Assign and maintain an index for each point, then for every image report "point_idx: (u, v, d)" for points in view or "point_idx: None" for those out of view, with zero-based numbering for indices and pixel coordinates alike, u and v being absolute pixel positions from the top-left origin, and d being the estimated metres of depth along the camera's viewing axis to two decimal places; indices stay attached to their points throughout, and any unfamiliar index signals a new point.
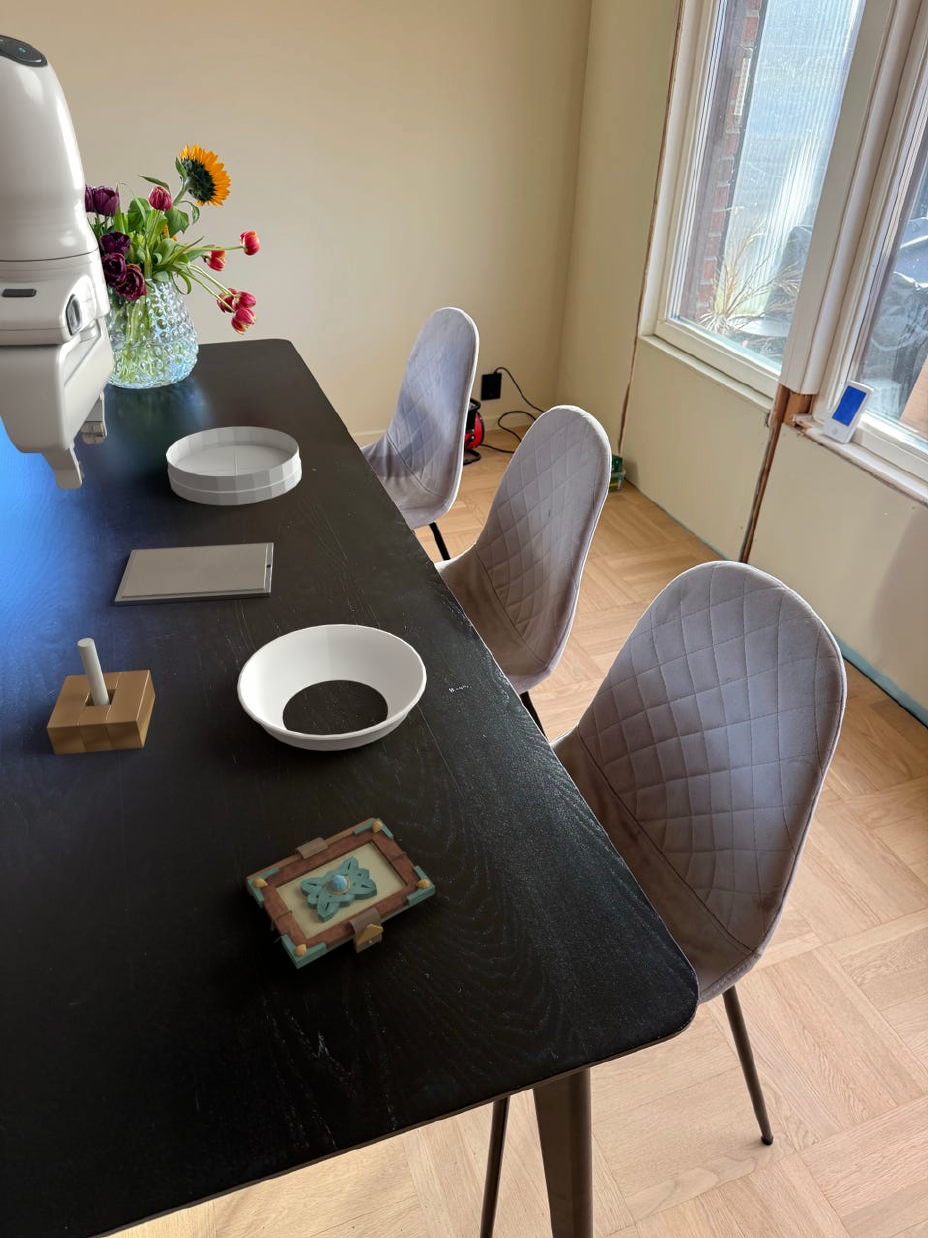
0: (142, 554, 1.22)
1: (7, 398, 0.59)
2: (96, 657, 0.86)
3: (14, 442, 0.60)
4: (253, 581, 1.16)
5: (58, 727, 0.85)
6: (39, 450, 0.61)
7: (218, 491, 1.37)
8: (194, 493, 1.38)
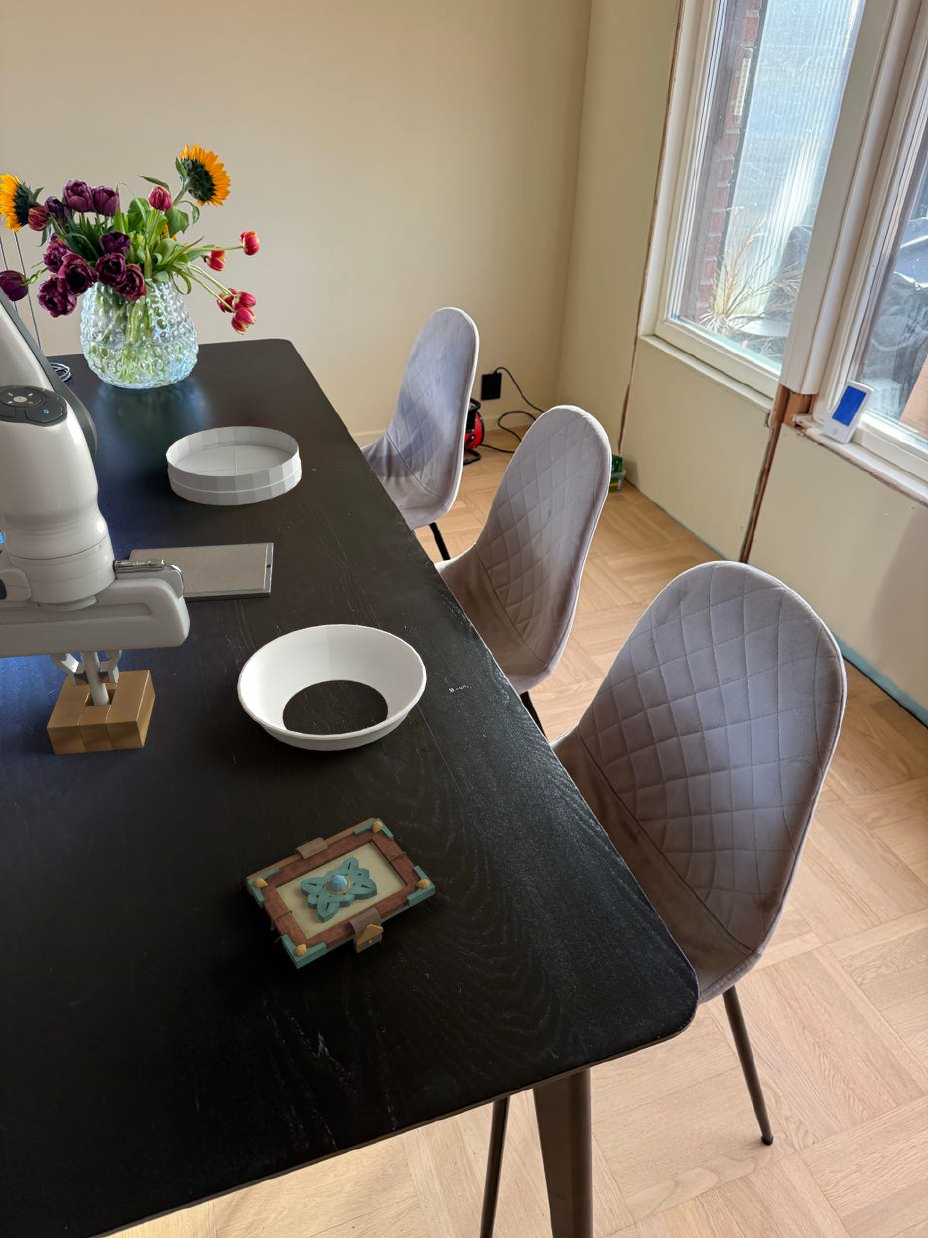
0: (142, 554, 1.22)
1: None
2: (96, 657, 0.86)
3: None
4: (253, 581, 1.16)
5: (58, 727, 0.85)
6: None
7: (218, 491, 1.37)
8: (194, 493, 1.38)
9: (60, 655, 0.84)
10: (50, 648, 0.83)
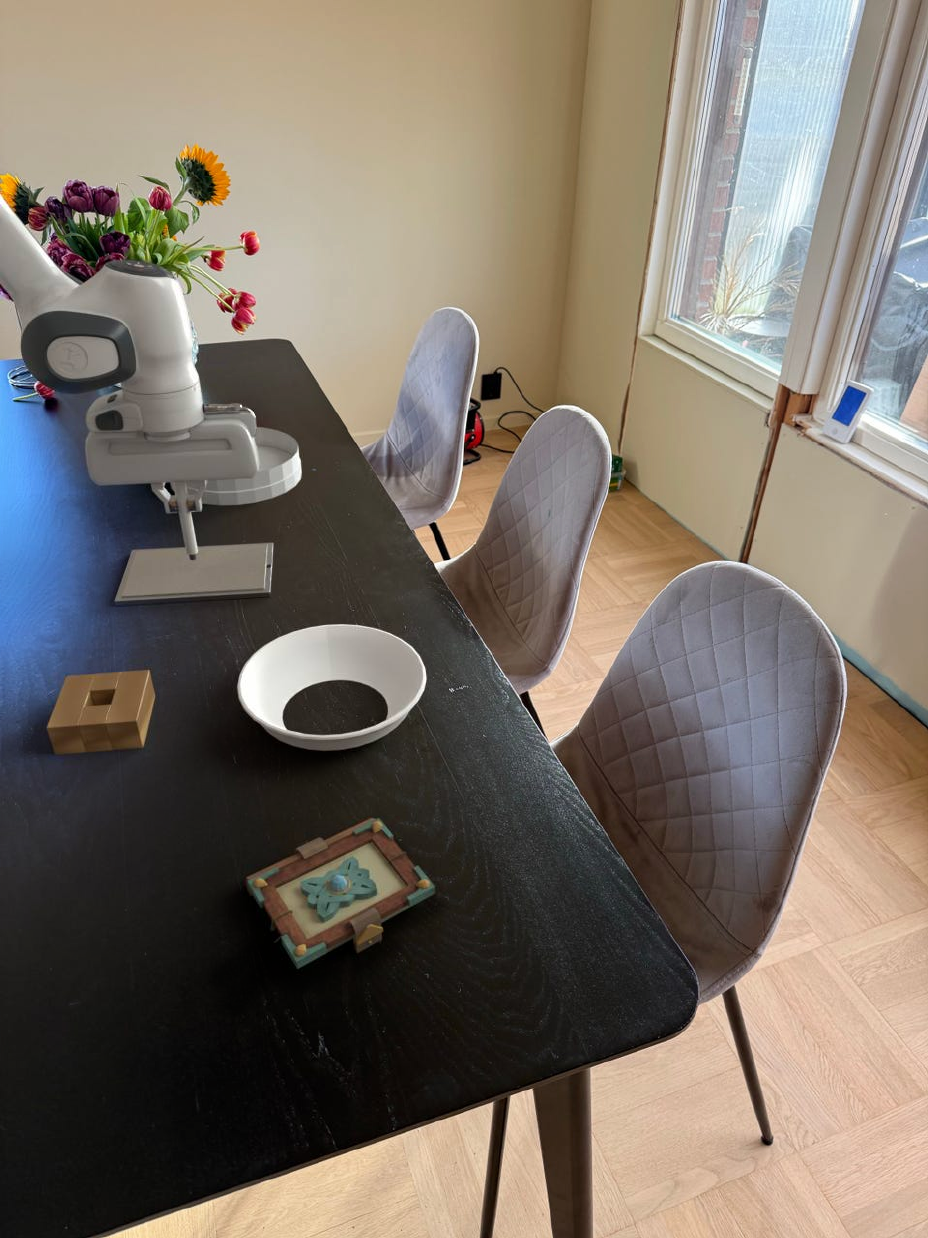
0: (142, 554, 1.22)
1: None
2: (186, 488, 1.08)
3: None
4: (253, 581, 1.16)
5: (58, 727, 0.85)
6: None
7: (218, 491, 1.37)
8: (194, 493, 1.38)
9: (158, 484, 1.06)
10: (152, 476, 1.05)
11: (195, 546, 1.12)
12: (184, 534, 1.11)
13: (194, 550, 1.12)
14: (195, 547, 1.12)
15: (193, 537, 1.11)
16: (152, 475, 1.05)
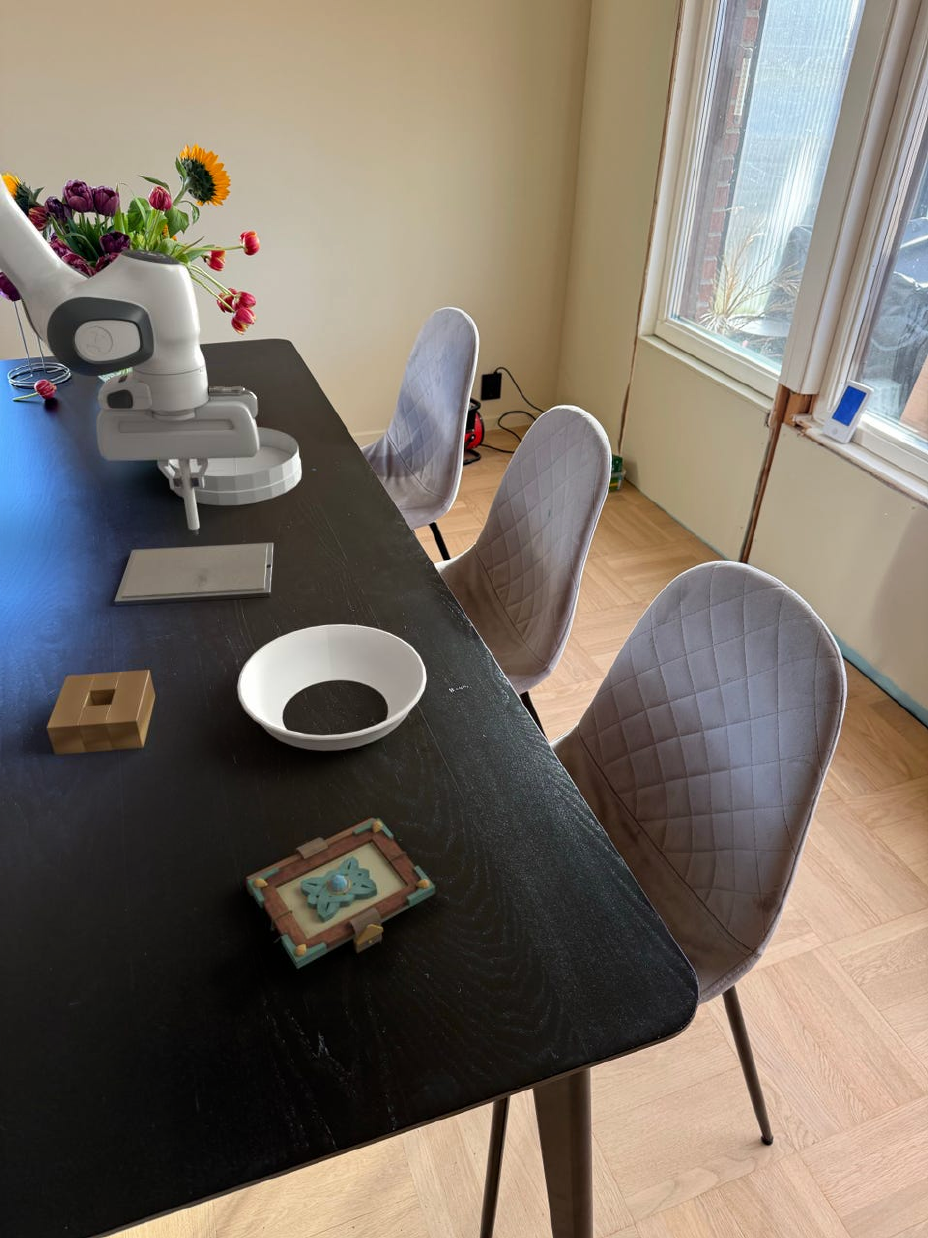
0: (142, 554, 1.22)
1: None
2: (190, 466, 1.15)
3: None
4: (253, 581, 1.16)
5: (58, 727, 0.85)
6: None
7: (218, 491, 1.37)
8: None
9: (164, 461, 1.13)
10: (158, 454, 1.11)
11: (197, 522, 1.19)
12: (187, 510, 1.17)
13: (196, 525, 1.19)
14: (197, 523, 1.19)
15: (195, 513, 1.18)
16: (158, 452, 1.11)
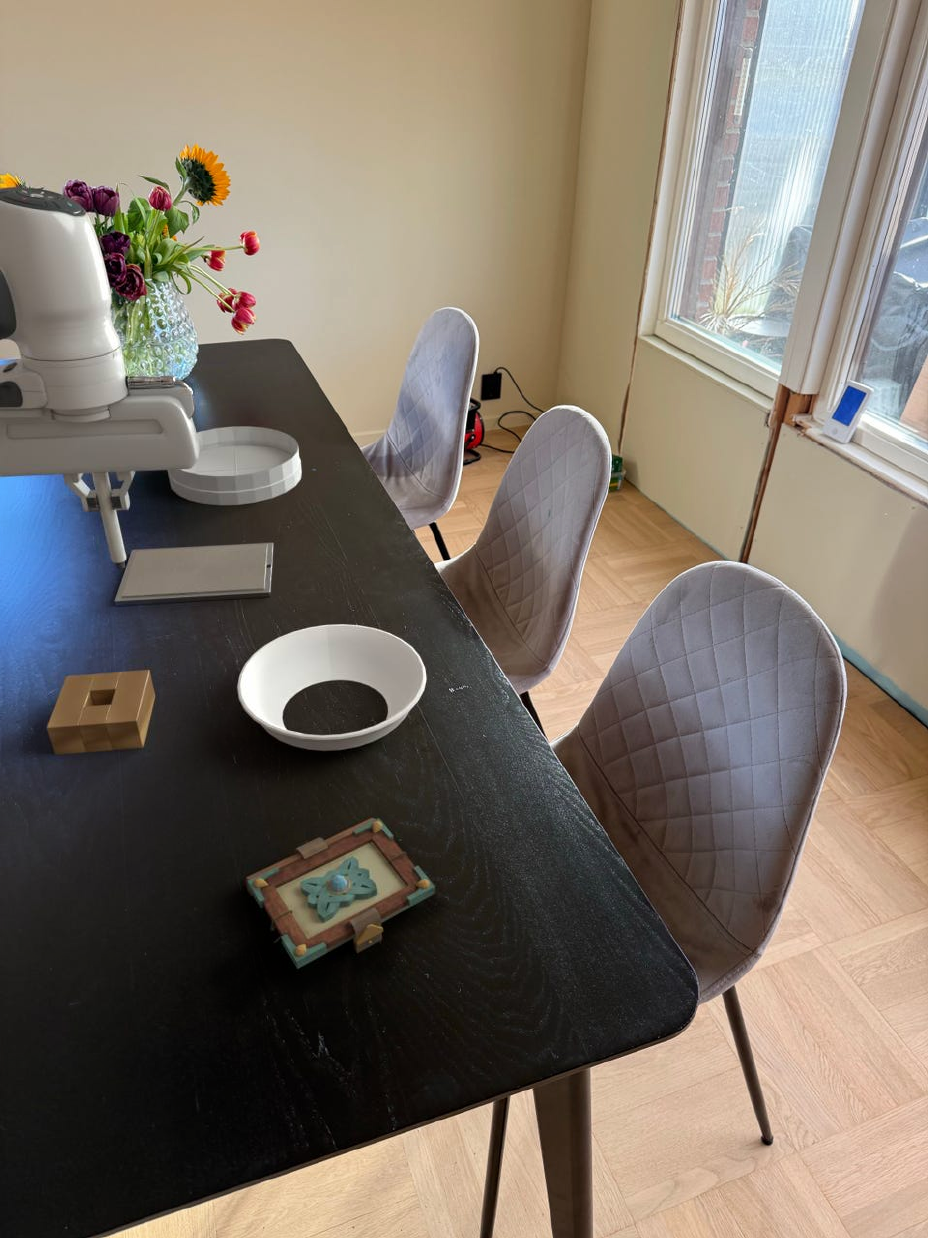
0: (142, 554, 1.22)
1: None
2: (108, 481, 0.88)
3: None
4: (253, 581, 1.16)
5: (58, 727, 0.85)
6: None
7: (218, 491, 1.37)
8: (194, 493, 1.38)
9: (73, 476, 0.86)
10: (64, 466, 0.84)
11: (122, 552, 0.92)
12: (108, 537, 0.91)
13: (121, 557, 0.92)
14: (122, 553, 0.92)
15: (119, 541, 0.91)
16: (64, 464, 0.84)
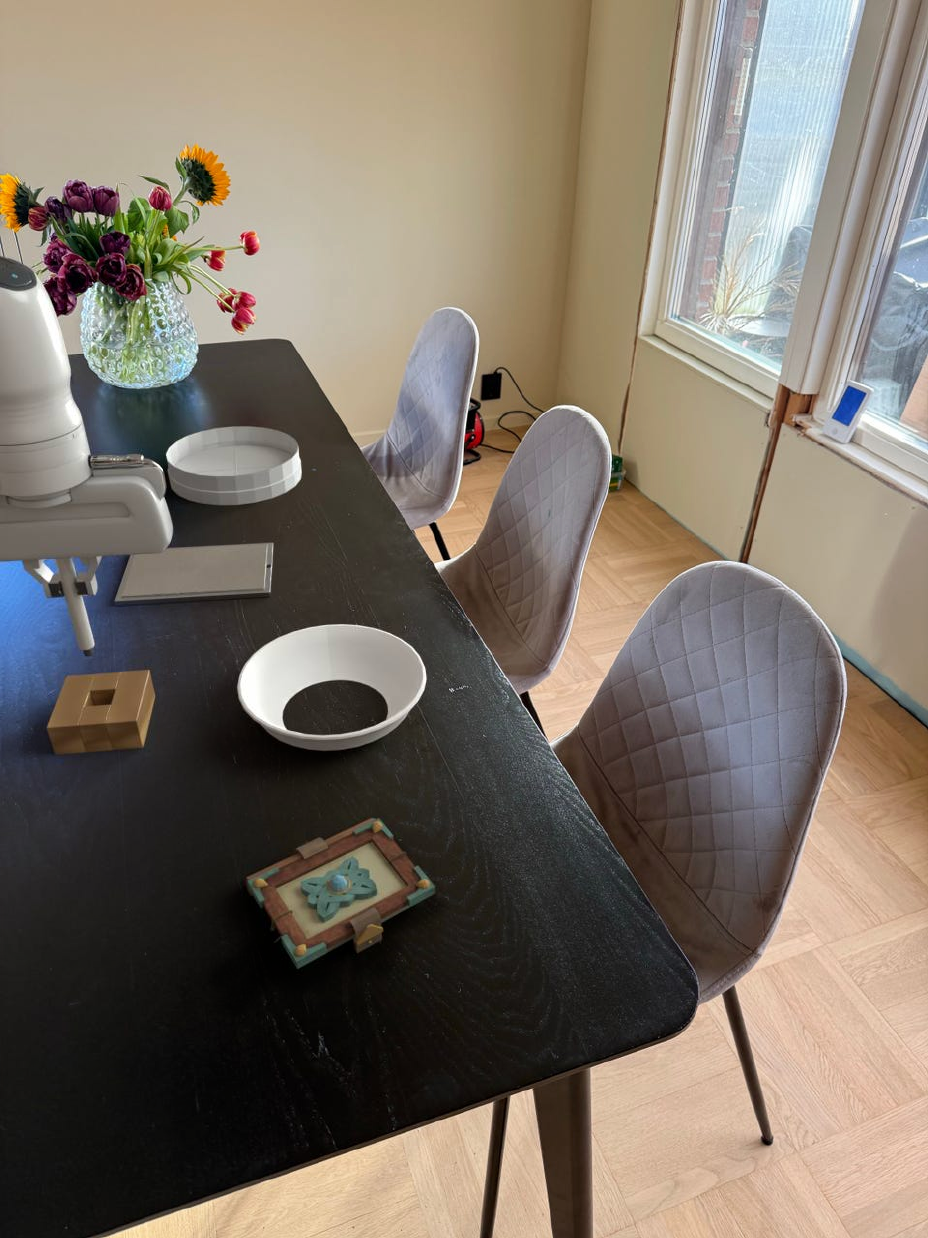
0: (142, 554, 1.22)
1: None
2: (72, 566, 0.80)
3: None
4: (253, 581, 1.16)
5: (58, 727, 0.85)
6: None
7: (218, 491, 1.37)
8: (194, 493, 1.38)
9: (33, 562, 0.78)
10: (22, 552, 0.77)
11: (90, 639, 0.84)
12: (74, 624, 0.83)
13: (89, 644, 0.84)
14: (90, 640, 0.84)
15: (86, 628, 0.83)
16: (22, 551, 0.77)
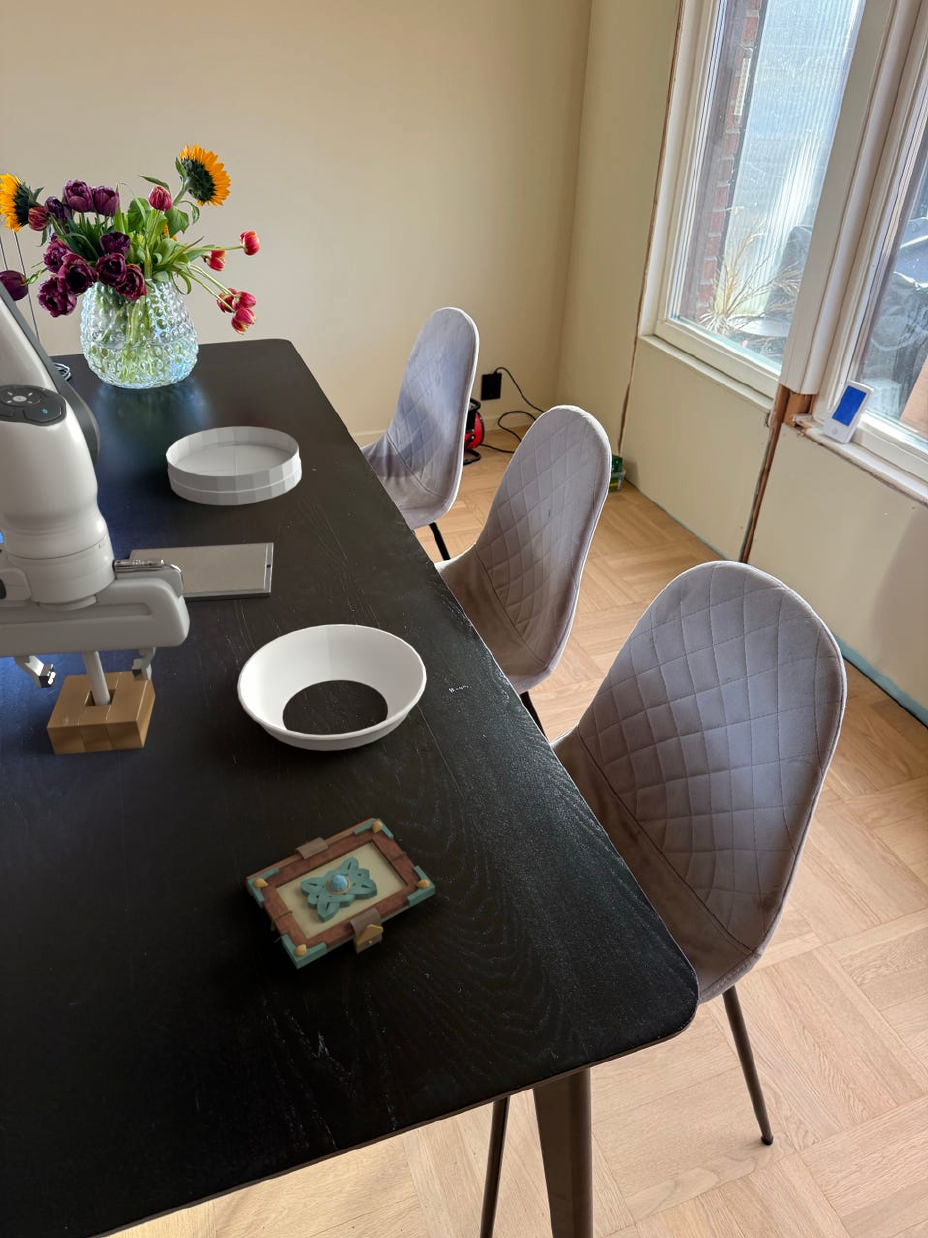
0: (142, 554, 1.22)
1: None
2: (97, 657, 0.86)
3: None
4: (253, 581, 1.16)
5: (58, 727, 0.85)
6: None
7: (218, 491, 1.37)
8: (194, 493, 1.38)
9: (24, 657, 0.83)
10: (50, 648, 0.82)
11: None
12: None
13: None
14: None
15: None
16: (50, 646, 0.82)
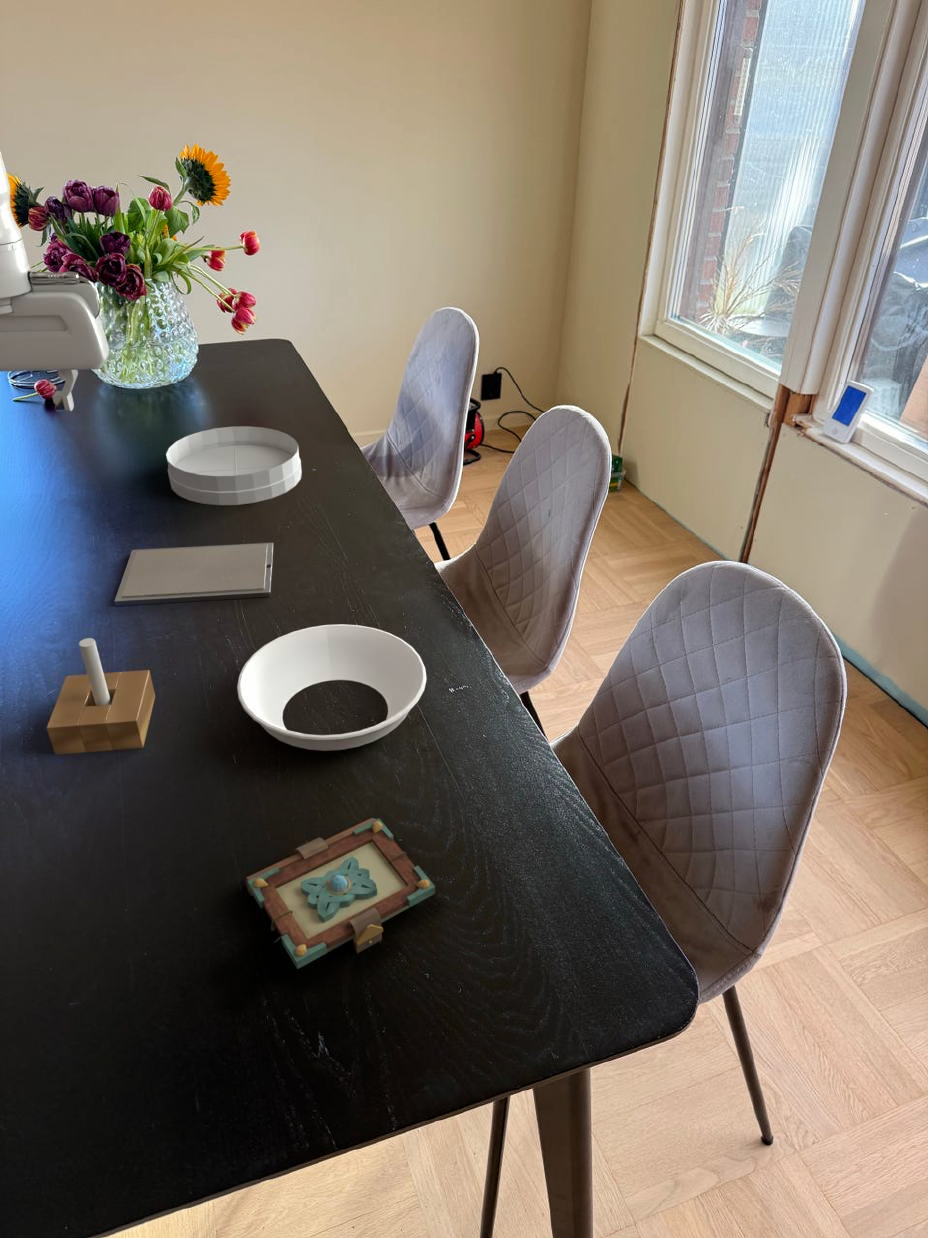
0: (142, 554, 1.22)
1: None
2: (97, 657, 0.86)
3: None
4: (253, 581, 1.16)
5: (58, 727, 0.85)
6: None
7: (218, 491, 1.37)
8: (194, 493, 1.38)
9: None
10: None
11: None
12: None
13: None
14: None
15: None
16: None
